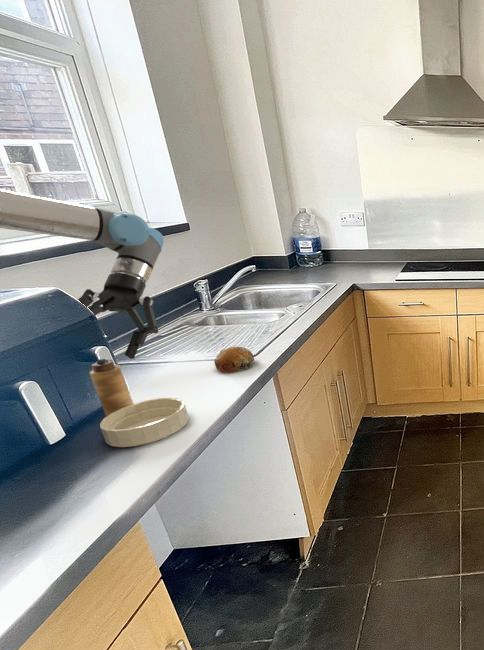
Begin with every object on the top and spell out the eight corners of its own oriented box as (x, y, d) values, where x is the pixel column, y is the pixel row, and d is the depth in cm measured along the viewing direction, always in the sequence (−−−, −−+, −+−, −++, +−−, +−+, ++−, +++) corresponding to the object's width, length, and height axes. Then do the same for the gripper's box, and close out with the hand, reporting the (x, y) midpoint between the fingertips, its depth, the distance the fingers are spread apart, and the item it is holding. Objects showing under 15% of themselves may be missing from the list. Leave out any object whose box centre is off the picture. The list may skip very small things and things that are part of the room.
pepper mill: (103, 422, 96) (81, 365, 91) (111, 412, 100) (90, 357, 95) (132, 417, 98) (112, 360, 93) (138, 407, 103) (119, 353, 98)
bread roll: (255, 369, 132) (248, 345, 132) (258, 366, 124) (251, 340, 124) (218, 378, 126) (211, 353, 126) (219, 375, 118) (211, 348, 118)
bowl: (96, 456, 84) (88, 437, 82) (119, 423, 96) (113, 406, 94) (182, 438, 90) (177, 420, 88) (194, 409, 102) (189, 392, 100)
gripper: (60, 263, 103) (18, 342, 94) (177, 279, 109) (149, 353, 101) (79, 279, 109) (42, 353, 101) (188, 292, 116) (163, 364, 107)
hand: (95, 354), depth 101 cm, fingers open, 13 cm apart
